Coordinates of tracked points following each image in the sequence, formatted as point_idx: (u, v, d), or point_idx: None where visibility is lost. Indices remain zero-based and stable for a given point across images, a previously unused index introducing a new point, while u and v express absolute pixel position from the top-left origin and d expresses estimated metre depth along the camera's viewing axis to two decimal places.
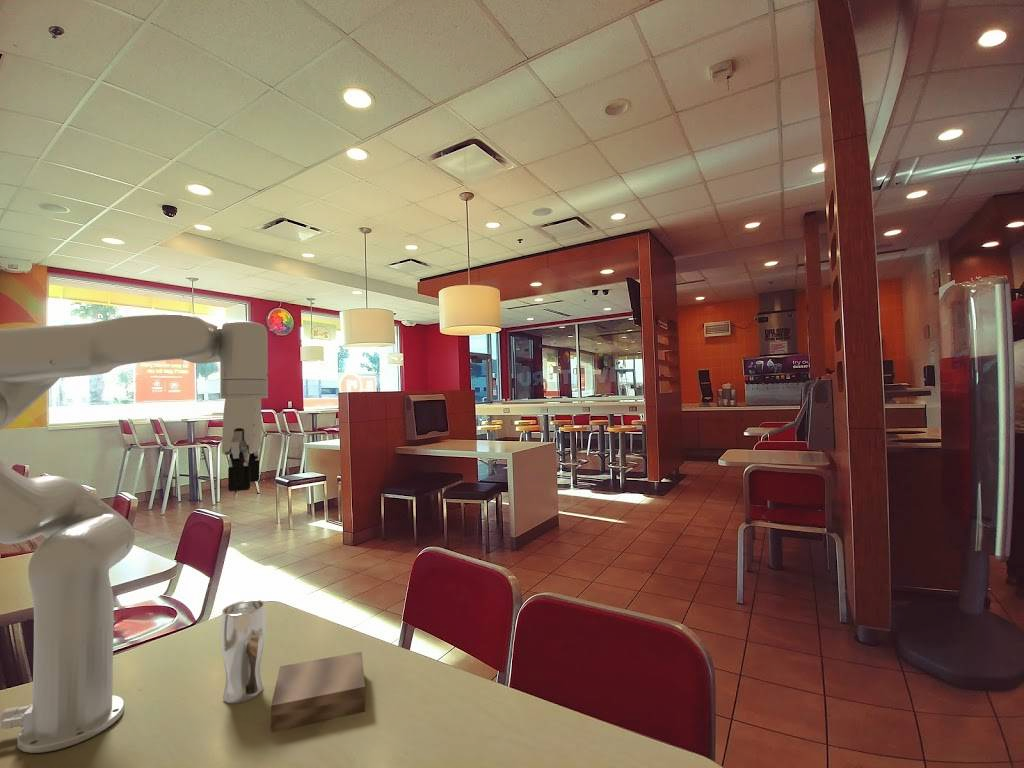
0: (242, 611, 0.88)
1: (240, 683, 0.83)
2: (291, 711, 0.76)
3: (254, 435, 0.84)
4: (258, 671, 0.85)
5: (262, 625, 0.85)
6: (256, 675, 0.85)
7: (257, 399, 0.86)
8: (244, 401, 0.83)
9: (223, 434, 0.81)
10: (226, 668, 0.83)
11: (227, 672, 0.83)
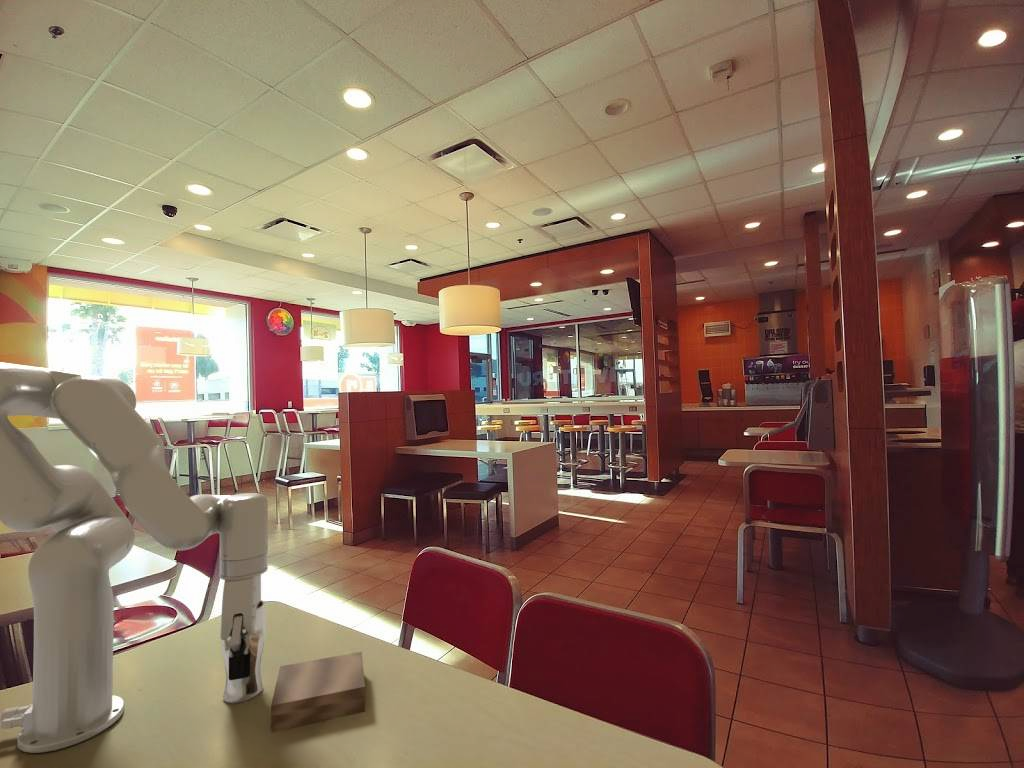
0: None
1: (240, 683, 0.83)
2: (291, 711, 0.76)
3: (253, 617, 0.83)
4: (258, 671, 0.85)
5: (262, 624, 0.85)
6: (256, 675, 0.85)
7: (257, 576, 0.85)
8: (243, 584, 0.82)
9: (222, 621, 0.80)
10: (226, 667, 0.83)
11: (227, 671, 0.83)
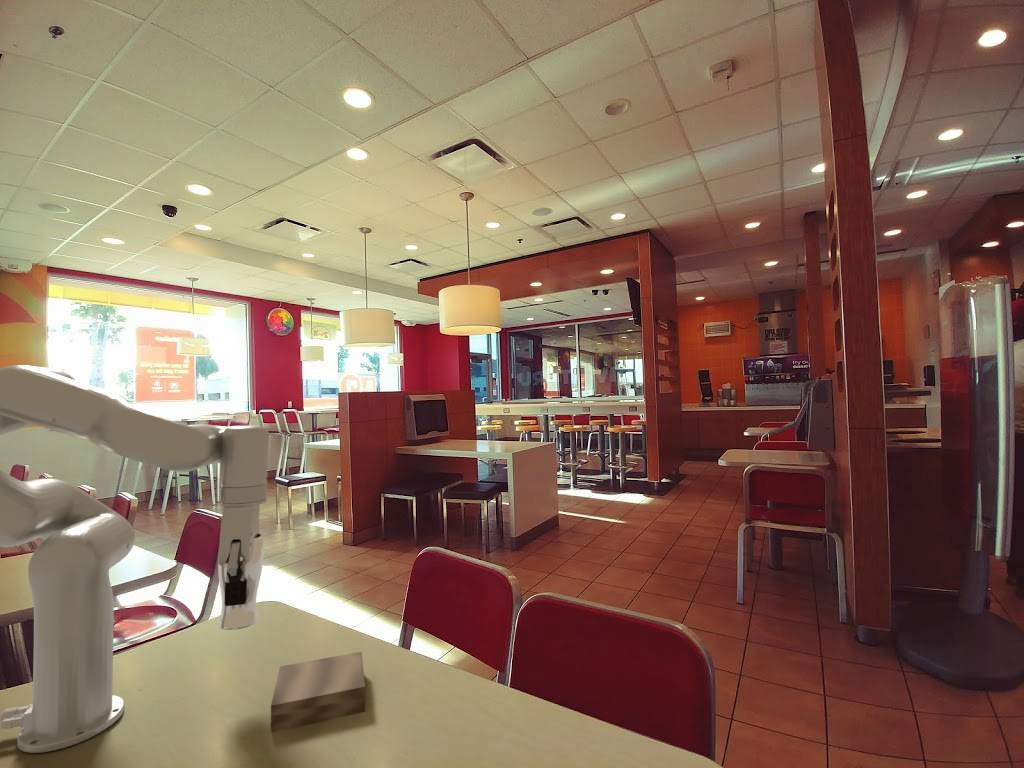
0: None
1: (236, 610, 0.83)
2: (291, 711, 0.76)
3: (251, 544, 0.83)
4: (254, 601, 0.86)
5: (260, 555, 0.86)
6: (252, 604, 0.85)
7: (256, 505, 0.85)
8: (242, 510, 0.82)
9: (220, 545, 0.81)
10: (222, 595, 0.83)
11: (223, 599, 0.83)
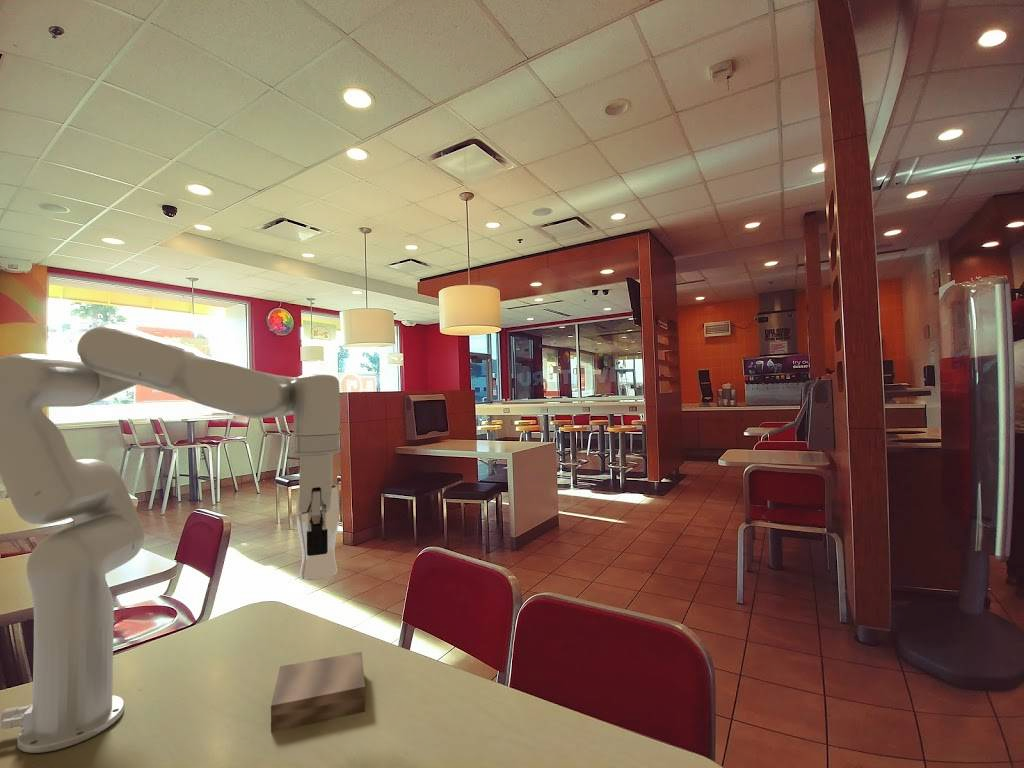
0: None
1: (317, 560, 0.81)
2: (291, 711, 0.76)
3: (330, 493, 0.81)
4: (333, 552, 0.84)
5: (337, 505, 0.84)
6: (332, 555, 0.83)
7: (331, 455, 0.83)
8: (320, 458, 0.81)
9: (300, 494, 0.79)
10: (303, 545, 0.82)
11: (304, 549, 0.82)
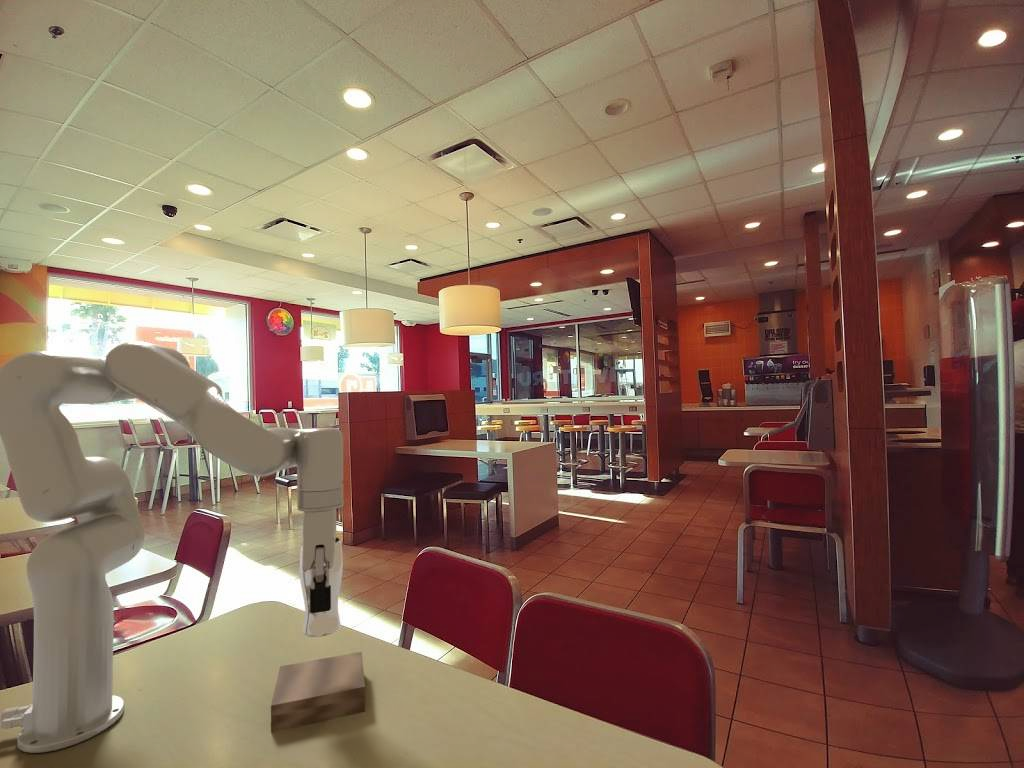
0: None
1: (320, 617, 0.81)
2: (291, 711, 0.76)
3: (334, 549, 0.81)
4: (337, 606, 0.84)
5: (340, 559, 0.84)
6: (335, 610, 0.83)
7: (335, 509, 0.83)
8: (324, 515, 0.80)
9: (304, 552, 0.79)
10: (306, 601, 0.81)
11: (307, 605, 0.81)
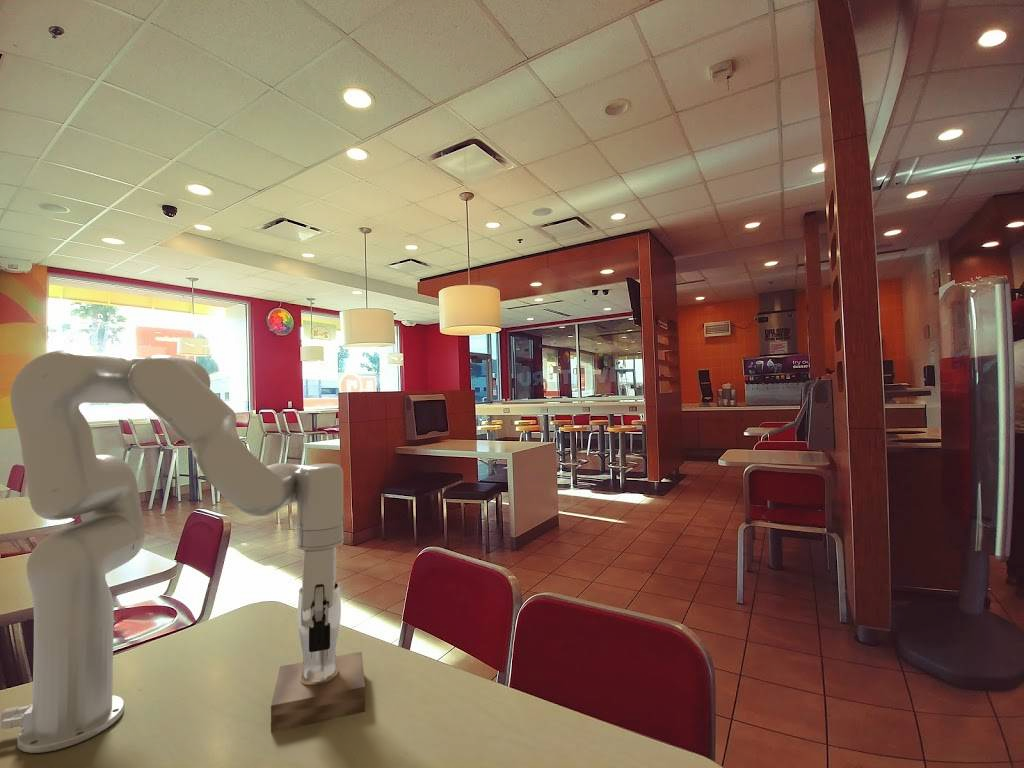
0: None
1: (319, 665, 0.81)
2: (291, 711, 0.76)
3: (333, 588, 0.81)
4: (335, 653, 0.83)
5: (339, 606, 0.83)
6: (333, 657, 0.83)
7: (335, 547, 0.83)
8: (323, 554, 0.80)
9: (303, 591, 0.78)
10: (304, 649, 0.81)
11: (305, 654, 0.81)
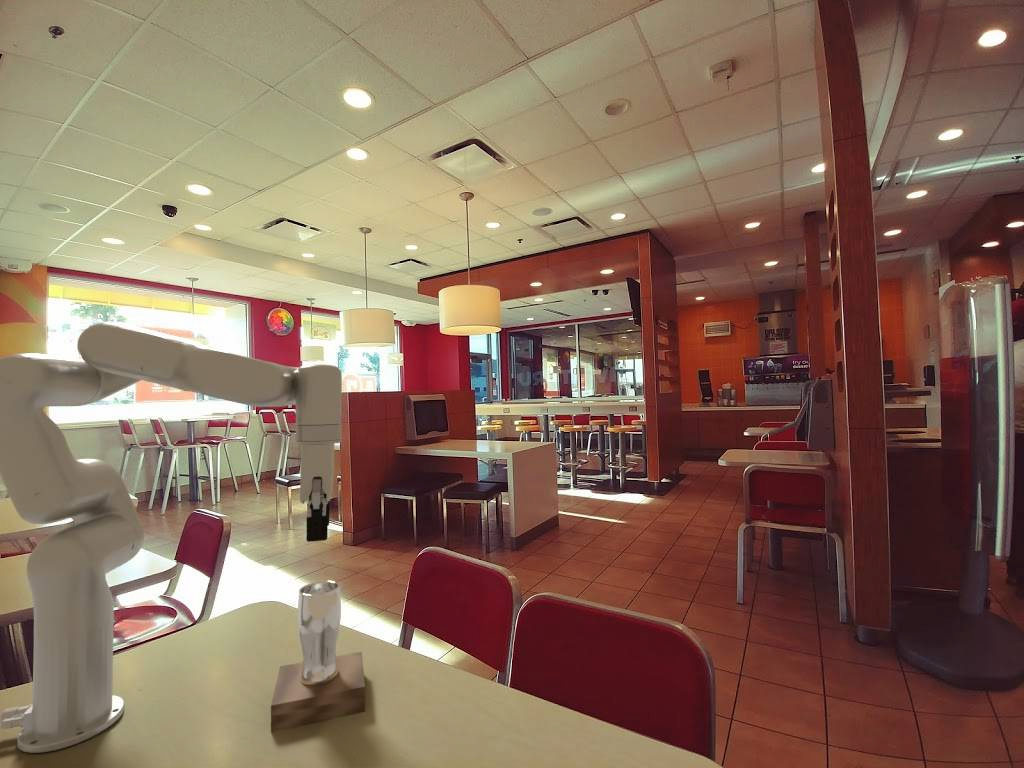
0: (315, 593, 0.86)
1: (319, 665, 0.81)
2: (291, 711, 0.76)
3: (331, 483, 0.82)
4: (335, 653, 0.83)
5: (339, 606, 0.83)
6: (333, 657, 0.83)
7: (333, 444, 0.84)
8: (321, 448, 0.81)
9: (301, 483, 0.79)
10: (304, 649, 0.81)
11: (305, 654, 0.81)
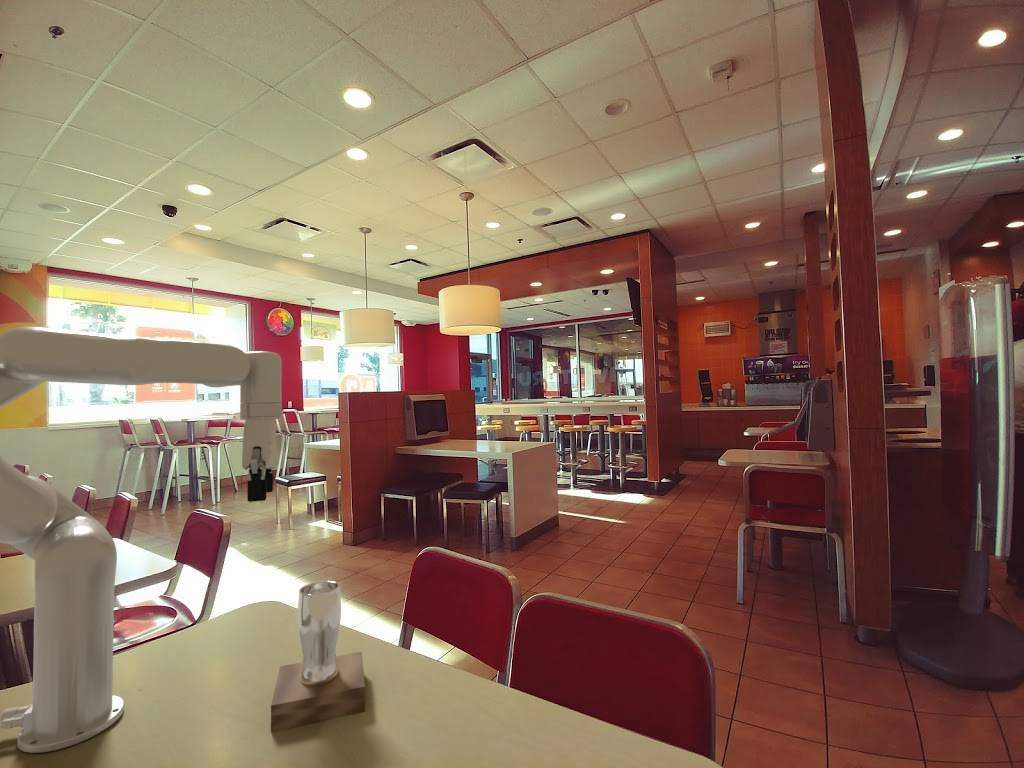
0: (315, 593, 0.86)
1: (319, 665, 0.81)
2: (291, 711, 0.76)
3: (270, 452, 0.95)
4: (335, 653, 0.83)
5: (339, 606, 0.83)
6: (333, 657, 0.83)
7: (272, 420, 0.97)
8: (261, 422, 0.95)
9: (243, 451, 0.93)
10: (304, 649, 0.81)
11: (305, 654, 0.81)
